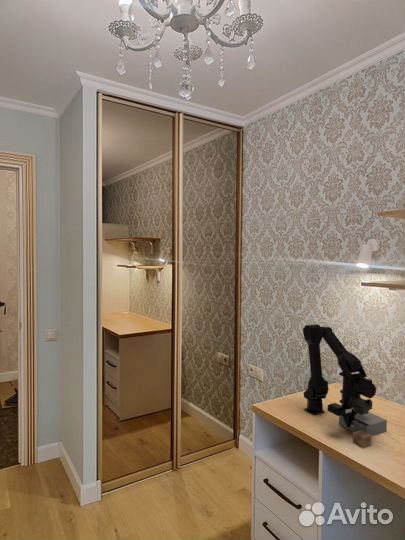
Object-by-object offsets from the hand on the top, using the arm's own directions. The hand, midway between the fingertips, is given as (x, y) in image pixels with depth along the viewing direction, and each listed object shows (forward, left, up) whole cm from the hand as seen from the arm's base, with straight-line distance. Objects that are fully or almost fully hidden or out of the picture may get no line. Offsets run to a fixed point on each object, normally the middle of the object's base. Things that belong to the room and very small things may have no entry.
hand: (348, 427), depth 151 cm
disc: (0, +8, 0) cm, 8 cm away
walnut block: (+9, -3, -2) cm, 10 cm away
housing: (0, +9, -2) cm, 9 cm away
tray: (0, +7, -2) cm, 7 cm away
